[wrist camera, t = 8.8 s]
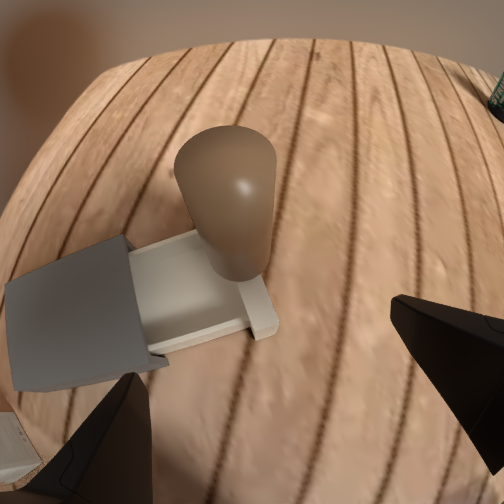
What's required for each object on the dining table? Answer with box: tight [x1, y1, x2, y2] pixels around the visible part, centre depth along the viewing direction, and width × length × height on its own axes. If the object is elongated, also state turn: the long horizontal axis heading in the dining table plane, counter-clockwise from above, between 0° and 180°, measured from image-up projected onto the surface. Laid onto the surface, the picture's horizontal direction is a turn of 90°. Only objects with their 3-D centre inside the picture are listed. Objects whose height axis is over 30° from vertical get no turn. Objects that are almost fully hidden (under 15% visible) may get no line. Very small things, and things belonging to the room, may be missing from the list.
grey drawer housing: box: [5, 234, 169, 392], centre depth 20 cm, size 14×10×4 cm
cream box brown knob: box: [128, 126, 279, 356], centre depth 17 cm, size 16×10×14 cm, turn 109°
